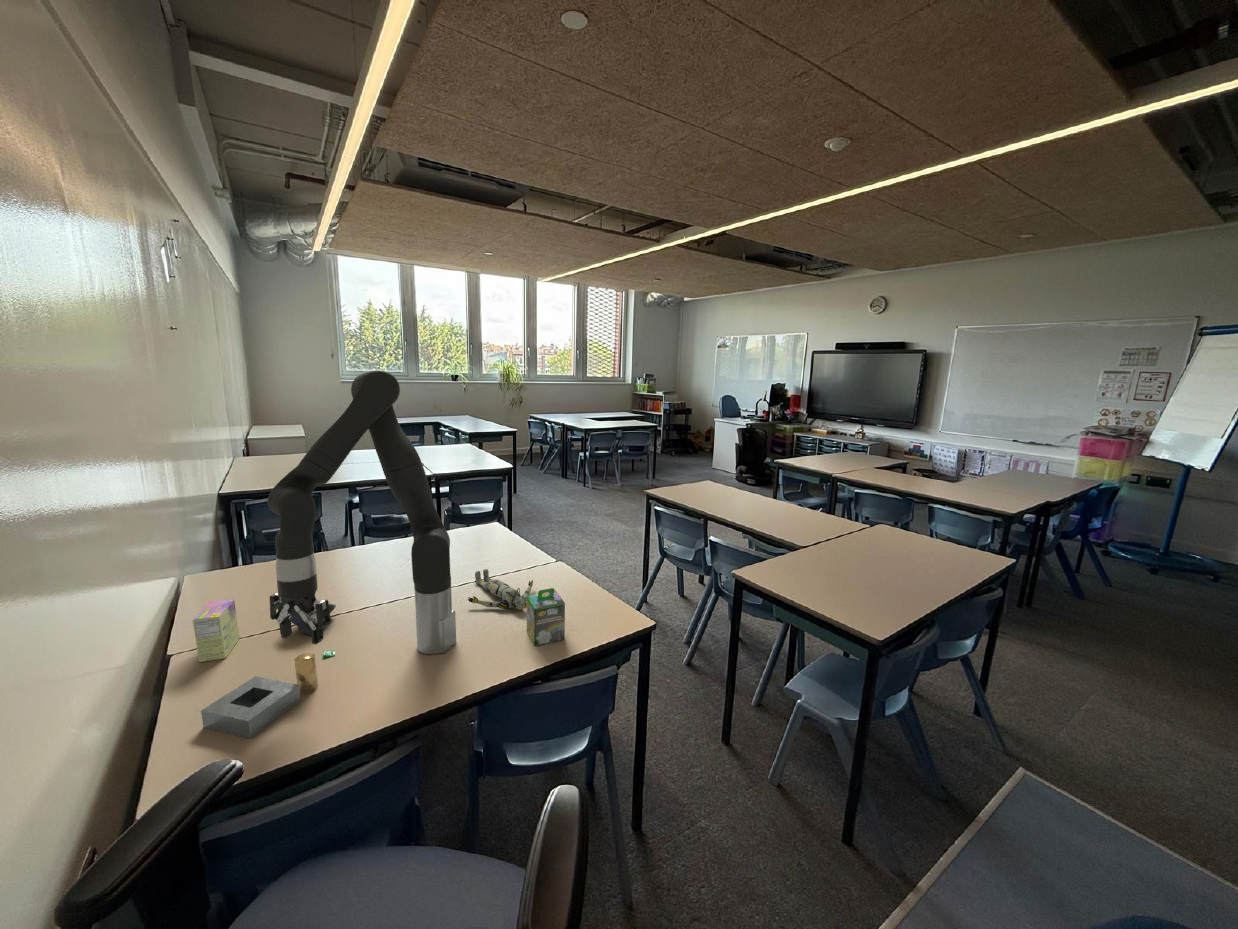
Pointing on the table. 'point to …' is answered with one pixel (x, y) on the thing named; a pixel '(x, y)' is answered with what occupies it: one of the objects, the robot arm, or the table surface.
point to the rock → (305, 626)
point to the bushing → (306, 672)
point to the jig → (245, 721)
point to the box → (216, 630)
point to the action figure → (501, 593)
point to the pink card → (328, 653)
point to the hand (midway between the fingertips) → (302, 639)
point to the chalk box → (545, 617)
